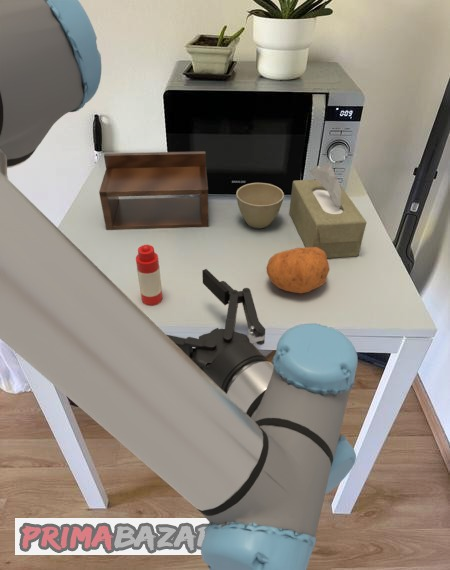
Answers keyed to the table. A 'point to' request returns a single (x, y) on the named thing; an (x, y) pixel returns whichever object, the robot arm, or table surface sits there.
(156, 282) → the red cream bottle
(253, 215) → the beige bowl
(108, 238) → the table surface
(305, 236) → the tissue box
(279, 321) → the table surface
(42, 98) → the robot arm
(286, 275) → the potato
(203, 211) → the shelf
